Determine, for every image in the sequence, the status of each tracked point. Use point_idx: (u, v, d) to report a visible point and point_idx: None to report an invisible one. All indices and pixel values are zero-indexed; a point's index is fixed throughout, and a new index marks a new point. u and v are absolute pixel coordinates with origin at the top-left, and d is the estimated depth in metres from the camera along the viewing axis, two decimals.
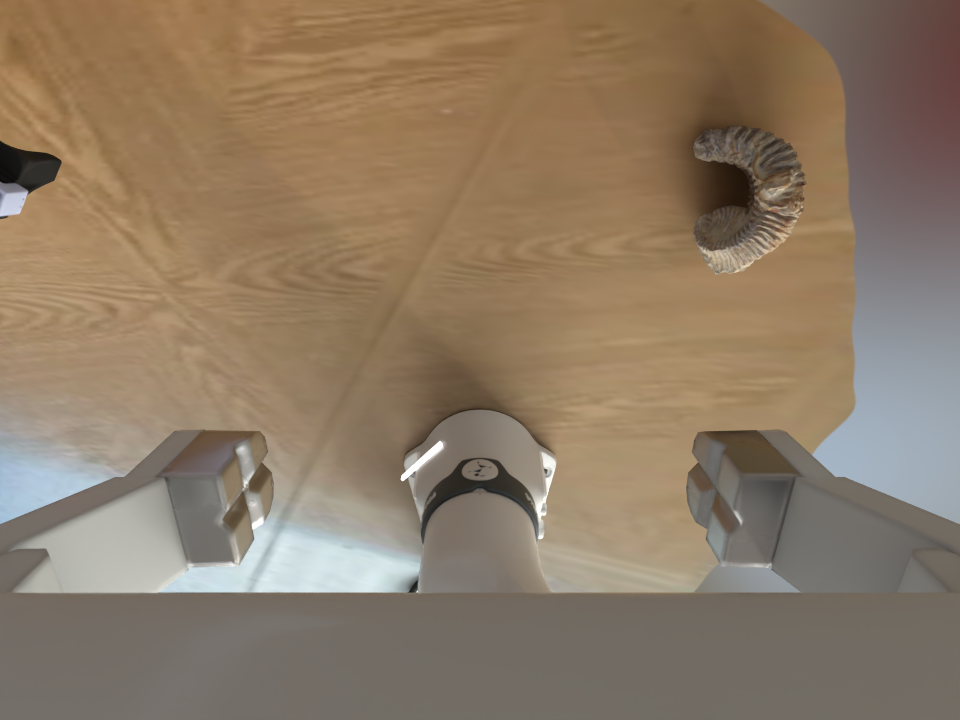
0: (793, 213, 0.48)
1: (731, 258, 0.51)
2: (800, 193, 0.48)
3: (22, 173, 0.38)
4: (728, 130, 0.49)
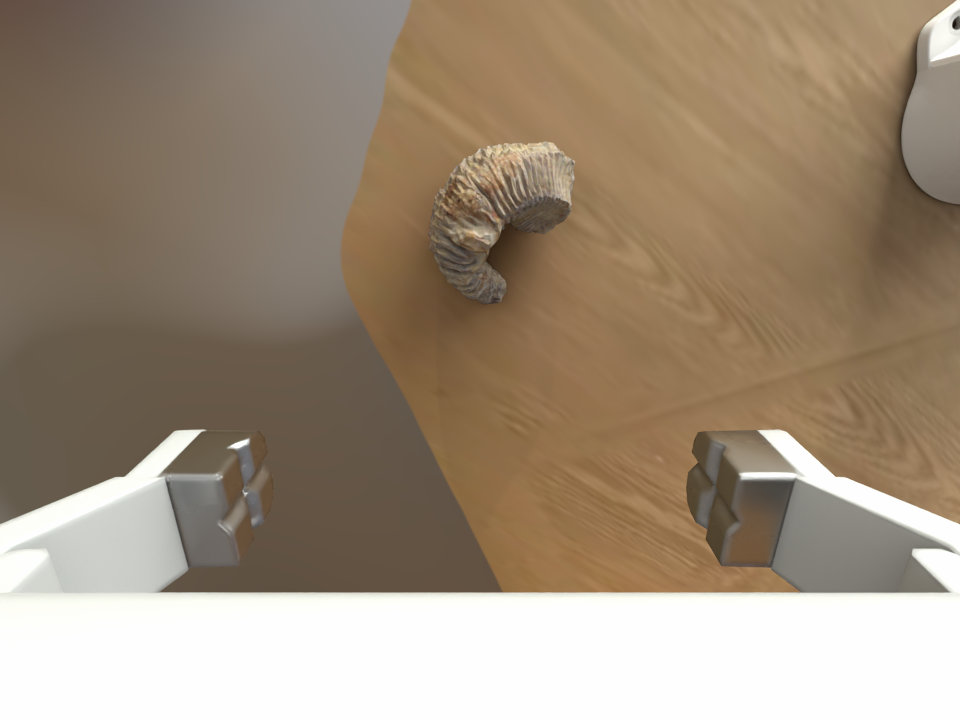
0: (475, 192, 0.38)
1: (555, 177, 0.39)
2: (456, 206, 0.39)
3: None
4: (473, 298, 0.45)
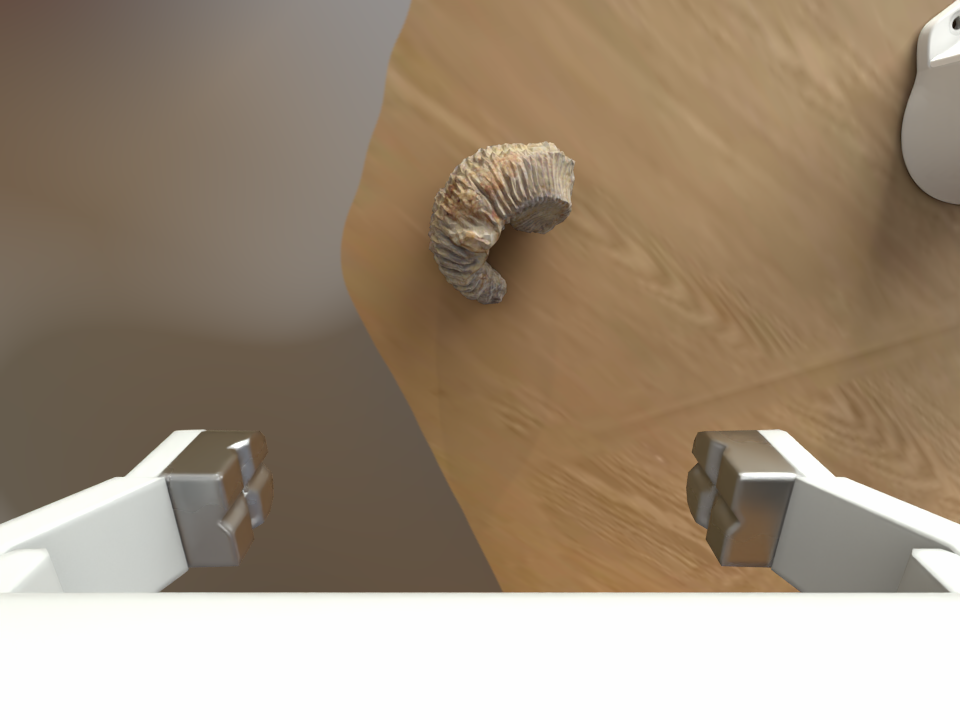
0: (475, 192, 0.38)
1: (555, 177, 0.39)
2: (456, 206, 0.39)
3: None
4: (473, 298, 0.45)
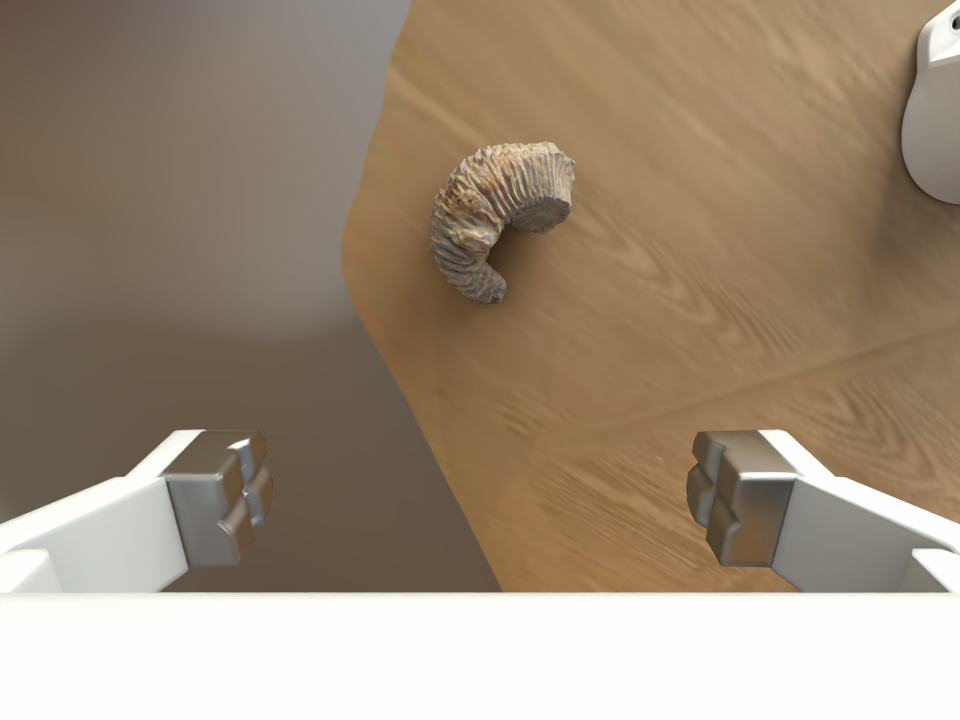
0: (475, 192, 0.38)
1: (555, 177, 0.39)
2: (456, 206, 0.39)
3: None
4: (473, 298, 0.45)
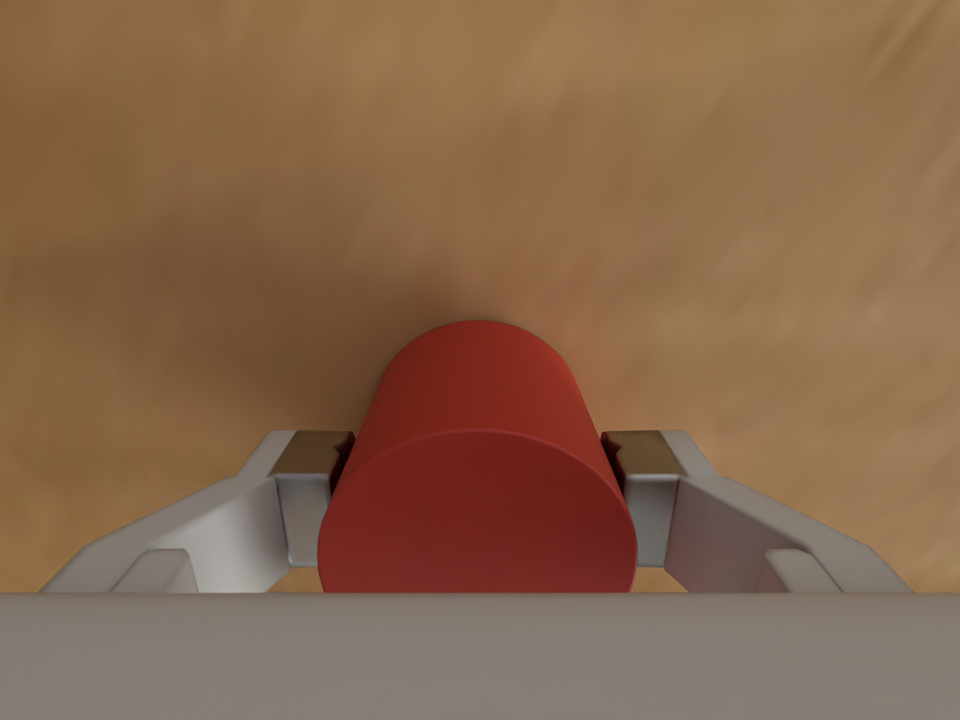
0: None
1: None
2: None
3: None
4: None
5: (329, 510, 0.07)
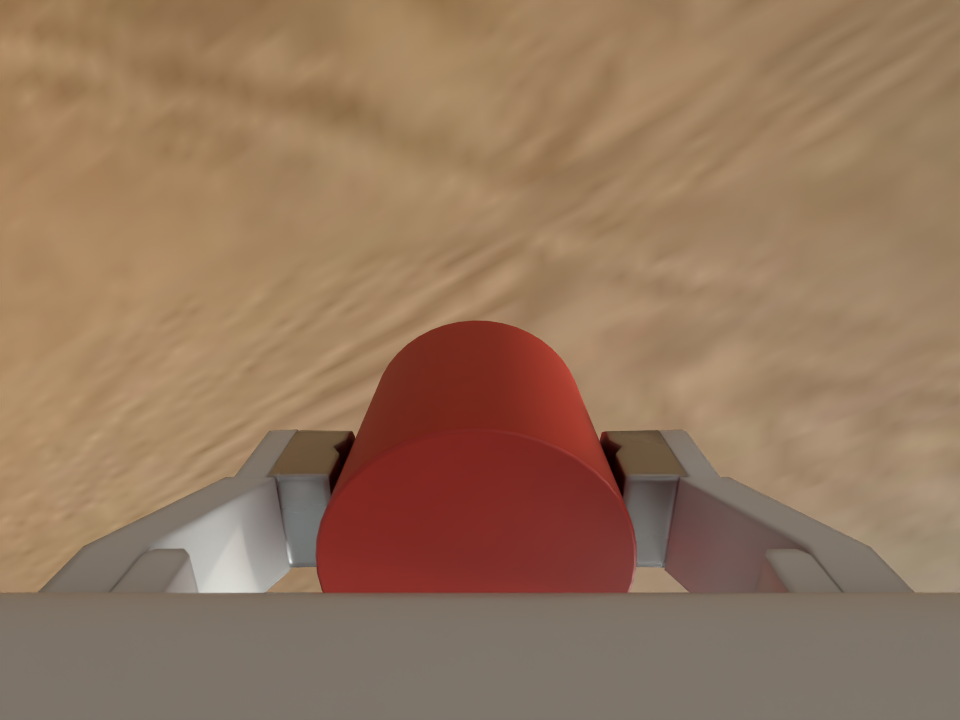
0: None
1: None
2: None
3: None
4: None
5: (327, 511, 0.07)
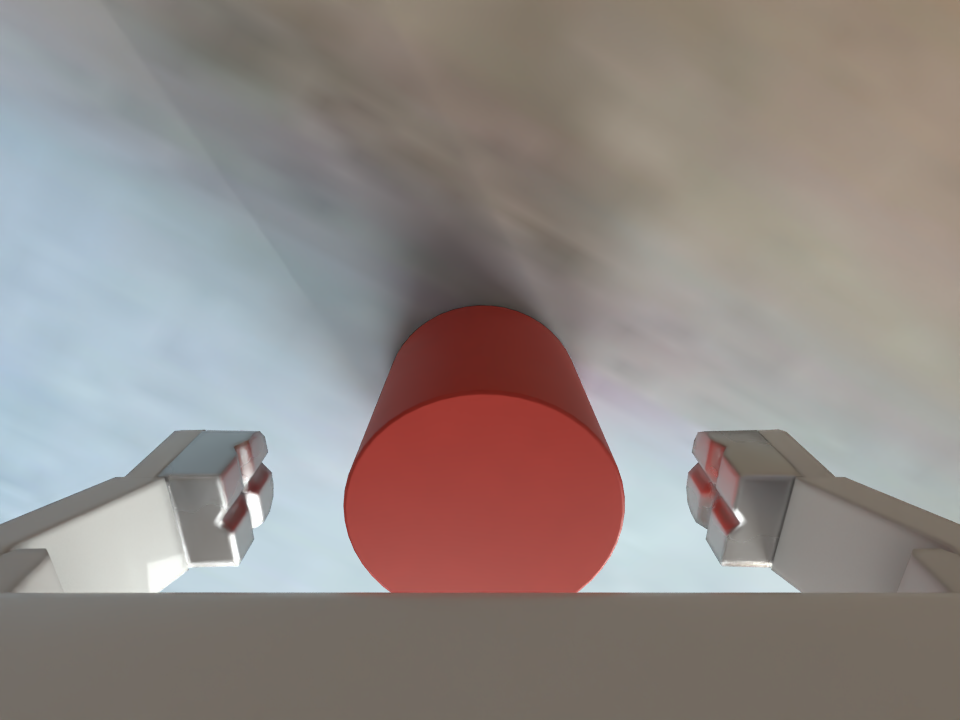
0: None
1: None
2: None
3: None
4: None
5: (354, 465, 0.08)
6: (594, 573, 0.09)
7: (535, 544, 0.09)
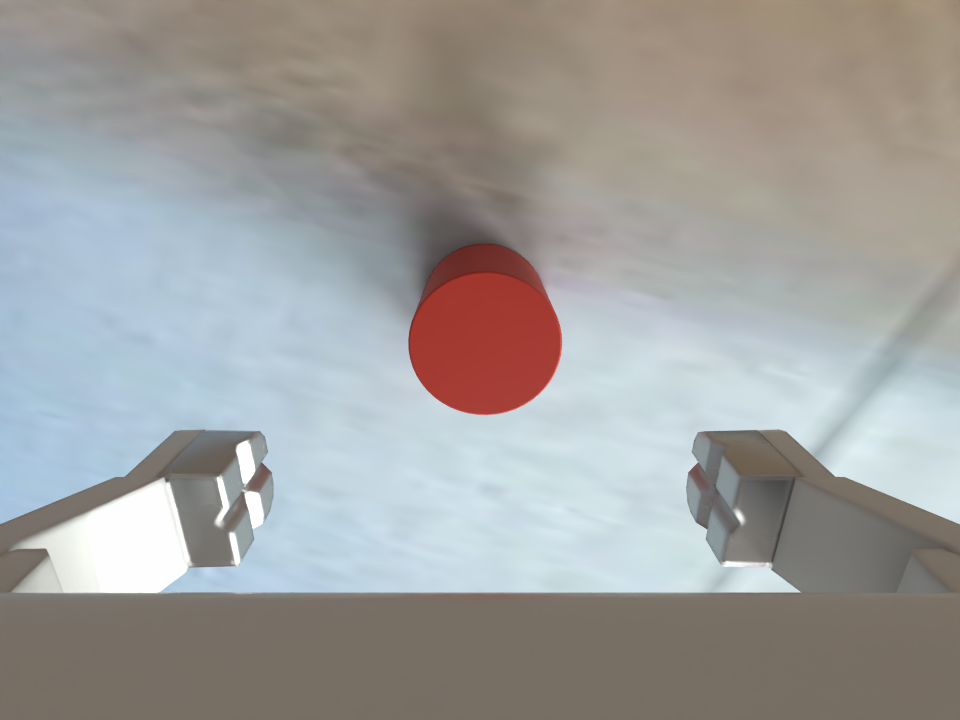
0: None
1: None
2: None
3: None
4: None
5: (410, 332, 0.16)
6: (555, 366, 0.16)
7: (517, 356, 0.16)
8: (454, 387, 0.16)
